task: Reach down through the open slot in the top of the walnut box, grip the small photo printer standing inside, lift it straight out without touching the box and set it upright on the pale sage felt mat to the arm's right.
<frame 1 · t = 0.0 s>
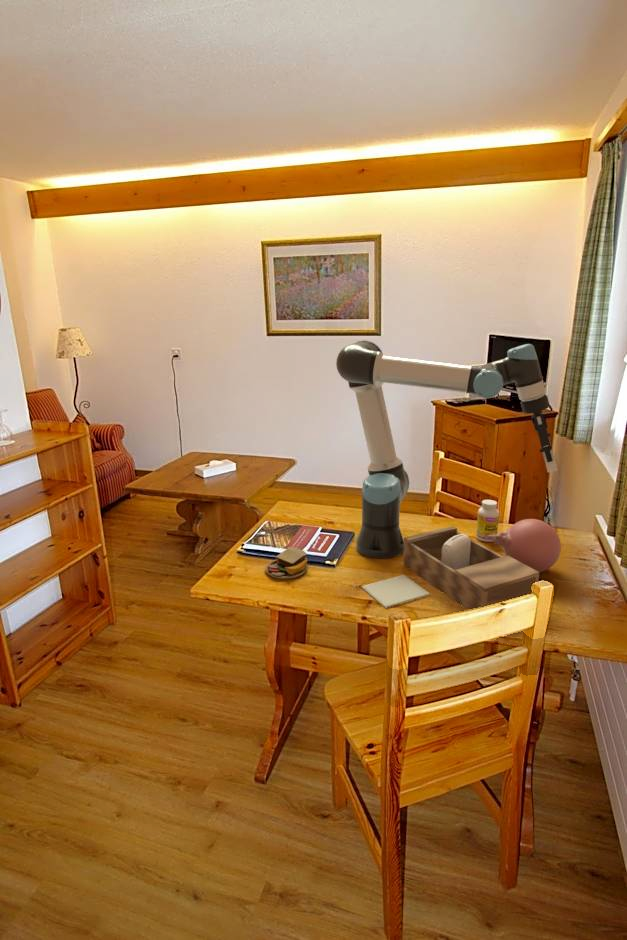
hand: (551, 464, 168), 28 cm above the table, tool tilted 20°, fingers open, 13 cm apart
felt mat: (395, 591, 153), on the table
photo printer: (454, 576, 161), resting in walnut box
toy sandwich meal: (286, 570, 167), on the table
supplement bottle: (486, 539, 185), on the table
pink rubber bulb: (520, 569, 165), on the table
walnut box: (465, 582, 157), on the table
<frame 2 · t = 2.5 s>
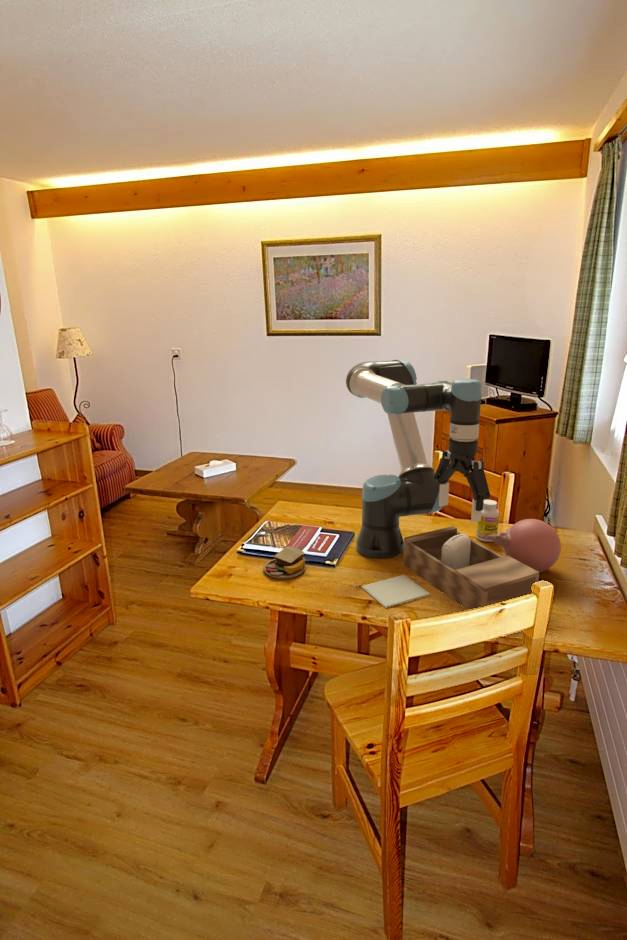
hand: (459, 513, 155), 20 cm above the table, tool pointing down, fingers open, 13 cm apart
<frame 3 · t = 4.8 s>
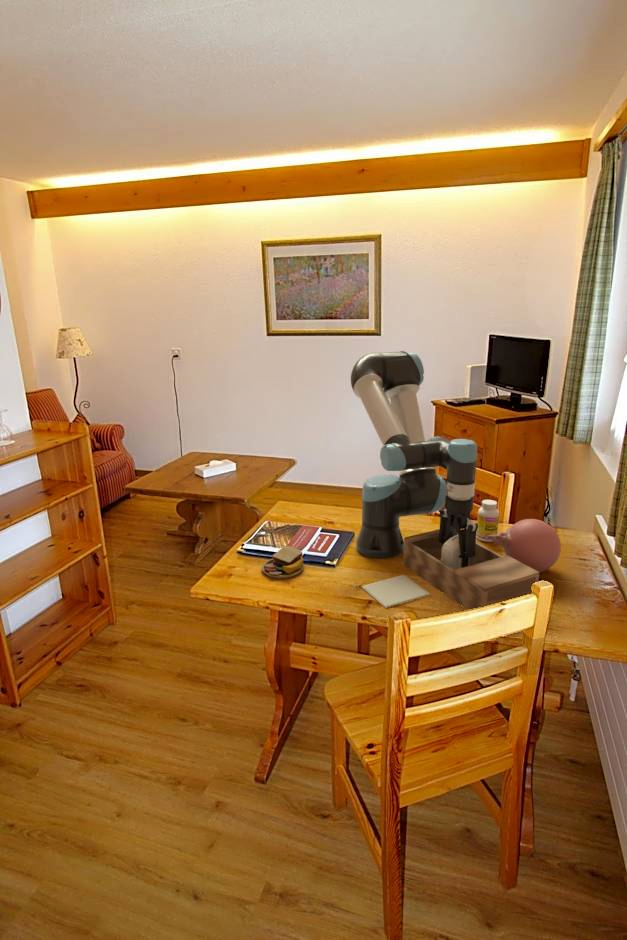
hand: (454, 571, 161), 1 cm above the table, tool pointing down, fingers closed on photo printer, 5 cm apart
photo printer: (454, 576, 161), resting in walnut box, touching gripper
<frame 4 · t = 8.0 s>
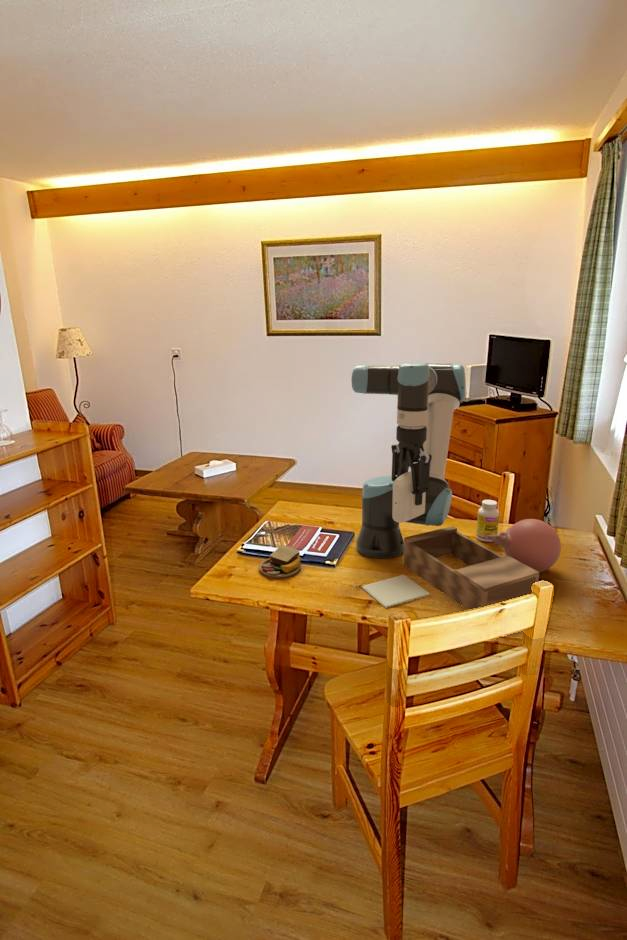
hand: (408, 512, 147), 23 cm above the table, tool pointing down, fingers closed on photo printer, 5 cm apart
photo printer: (408, 517, 148), point 21 cm above the table, touching gripper
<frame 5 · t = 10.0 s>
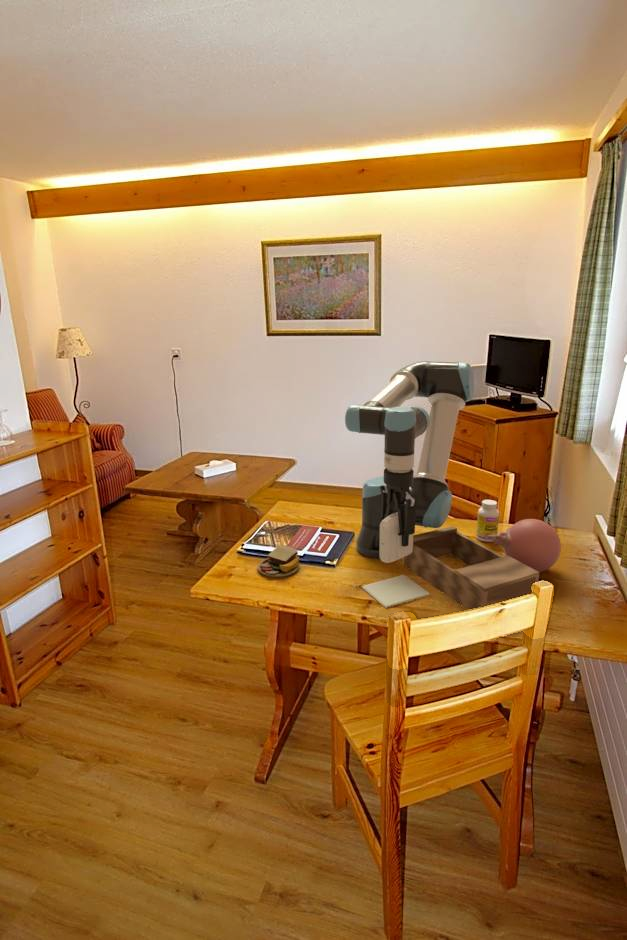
hand: (396, 551, 149), 12 cm above the table, tool pointing down, fingers closed on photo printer, 5 cm apart
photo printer: (396, 557, 150), point 10 cm above the table, touching gripper
when the fingers open (3 cm above the table, at t = 11.7 s): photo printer stays where it is, resting on felt mat.
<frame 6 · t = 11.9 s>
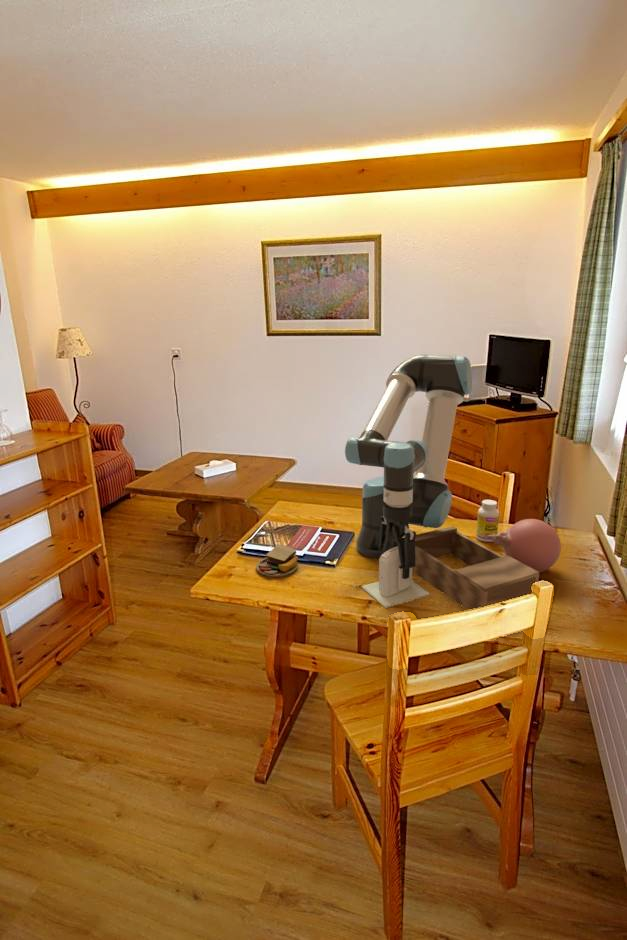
hand: (395, 581, 152), 3 cm above the table, tool pointing down, fingers open, 7 cm apart
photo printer: (395, 590, 153), resting on felt mat
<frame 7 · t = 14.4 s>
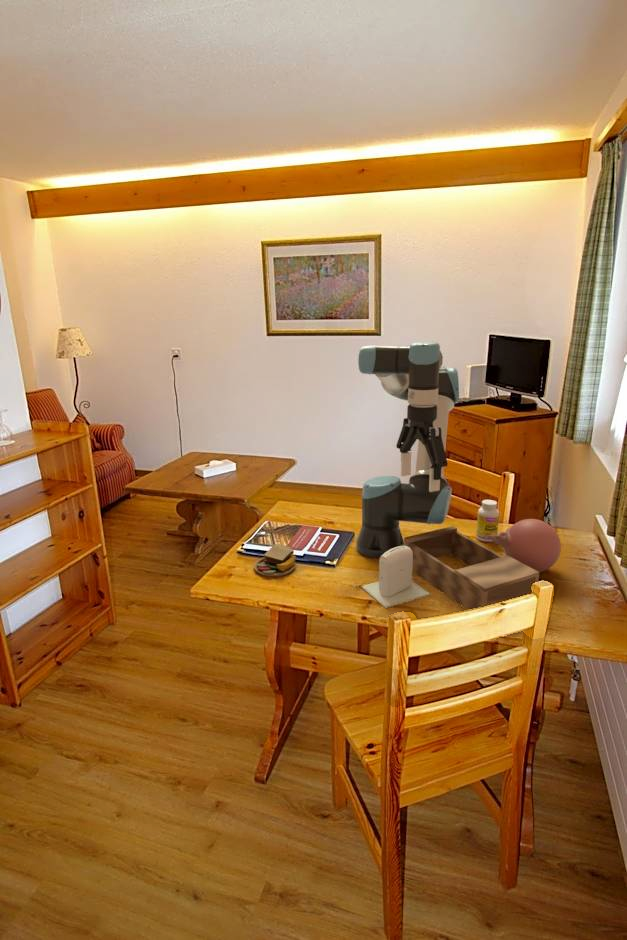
hand: (419, 482, 149), 29 cm above the table, tool pointing down, fingers open, 13 cm apart
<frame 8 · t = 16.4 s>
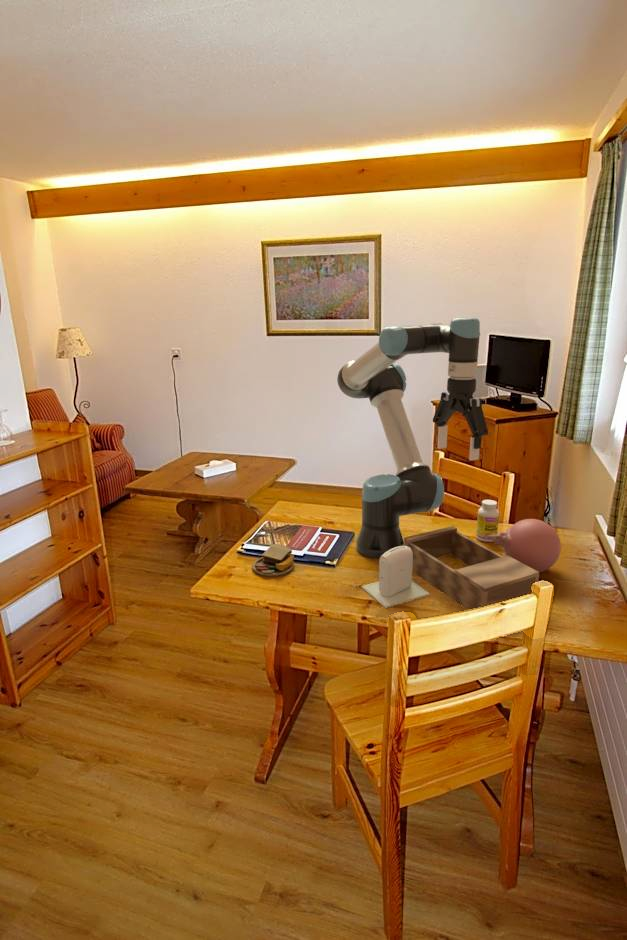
hand: (457, 453, 157), 35 cm above the table, tool pointing down, fingers open, 13 cm apart
at the end: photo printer inside the target area on the felt mat (0.1 cm from its centre), point 0.4 cm above the felt mat's base; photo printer tilted 0°; the gripper is holding nothing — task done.
